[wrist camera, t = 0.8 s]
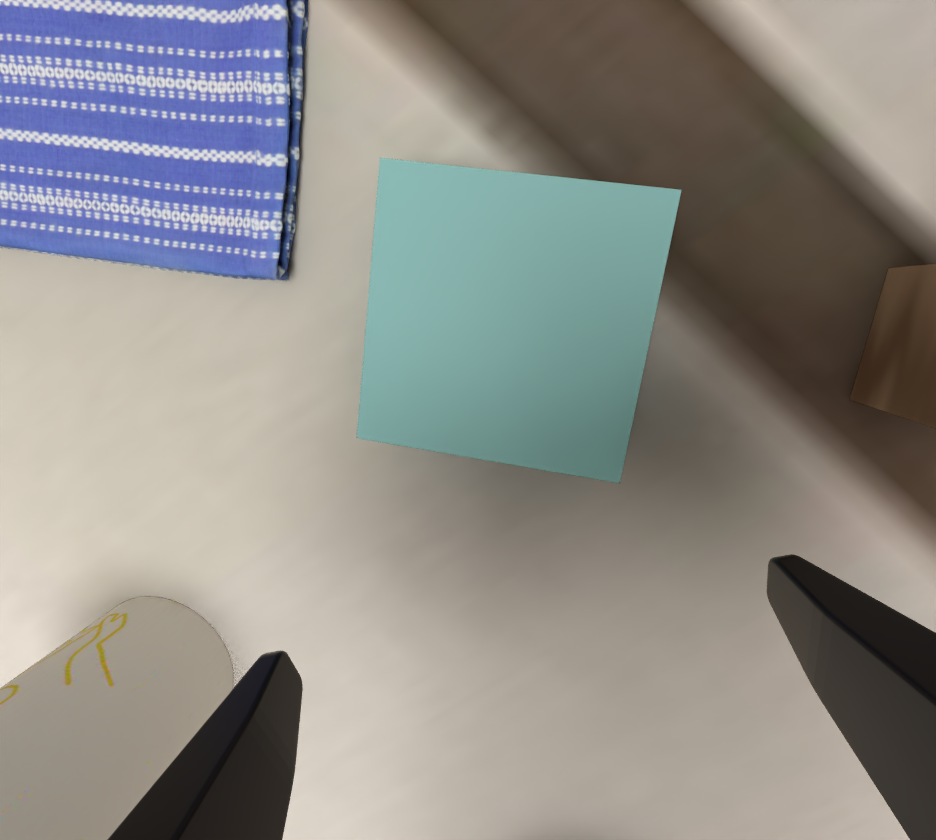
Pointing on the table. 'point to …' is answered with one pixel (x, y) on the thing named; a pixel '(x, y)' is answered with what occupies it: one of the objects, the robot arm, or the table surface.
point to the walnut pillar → (902, 347)
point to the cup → (105, 719)
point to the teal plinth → (511, 314)
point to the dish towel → (153, 132)
